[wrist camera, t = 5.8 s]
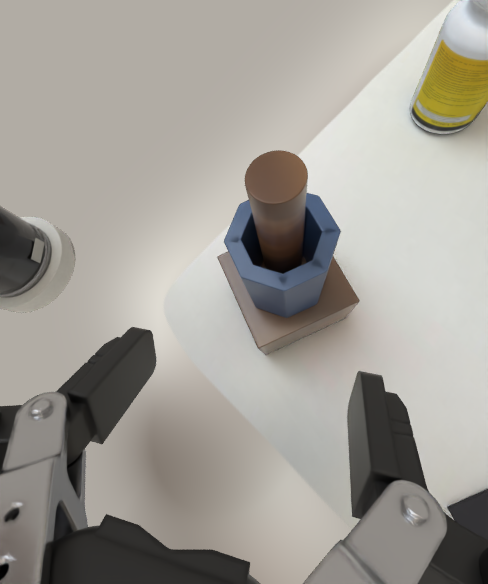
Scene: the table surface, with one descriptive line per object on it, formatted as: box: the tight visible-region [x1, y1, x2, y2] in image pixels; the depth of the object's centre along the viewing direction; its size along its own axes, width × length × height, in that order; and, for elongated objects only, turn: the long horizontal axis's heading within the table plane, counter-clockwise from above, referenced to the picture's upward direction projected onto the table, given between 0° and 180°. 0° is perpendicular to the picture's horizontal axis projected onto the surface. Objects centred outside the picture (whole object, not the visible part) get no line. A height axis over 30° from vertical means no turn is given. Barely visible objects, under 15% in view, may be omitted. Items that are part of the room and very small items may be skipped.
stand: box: [217, 151, 359, 355], centre depth 20 cm, size 8×8×18 cm
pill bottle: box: [410, 0, 488, 134], centre depth 26 cm, size 6×6×12 cm
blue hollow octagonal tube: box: [224, 193, 341, 318], centre depth 20 cm, size 6×6×7 cm
